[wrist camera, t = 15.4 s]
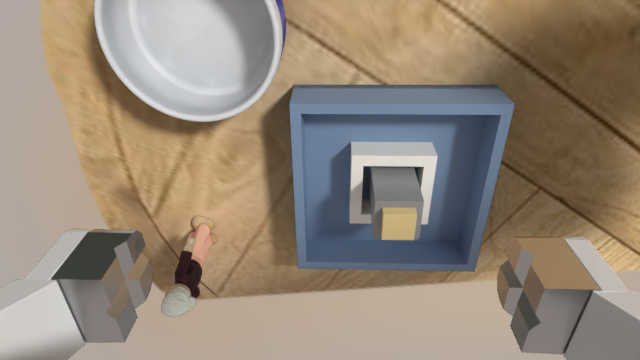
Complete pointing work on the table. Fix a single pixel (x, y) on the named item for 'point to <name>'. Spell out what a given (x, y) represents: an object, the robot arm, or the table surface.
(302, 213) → the walled tray
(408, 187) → the connector plug
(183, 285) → the grandmother figurine
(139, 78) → the dog bowl
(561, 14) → the table surface
